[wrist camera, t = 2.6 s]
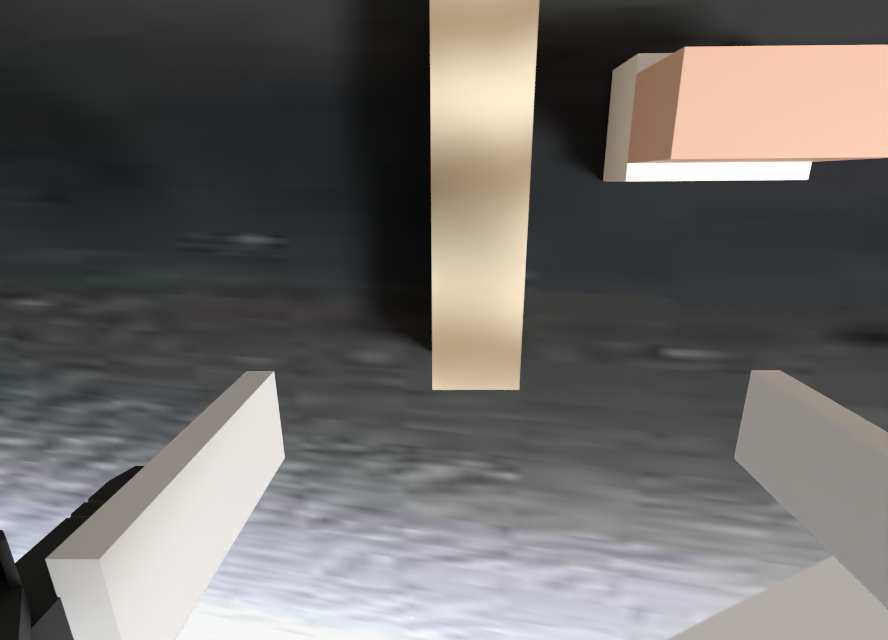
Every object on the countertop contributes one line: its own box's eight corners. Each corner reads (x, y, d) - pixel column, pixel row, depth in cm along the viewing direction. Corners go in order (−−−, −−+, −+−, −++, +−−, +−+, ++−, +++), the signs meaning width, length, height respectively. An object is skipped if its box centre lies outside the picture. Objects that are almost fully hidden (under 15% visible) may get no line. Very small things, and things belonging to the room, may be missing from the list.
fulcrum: (603, 181, 23) (668, 181, 16) (612, 70, 22) (688, 20, 15) (762, 179, 23) (893, 179, 16) (783, 68, 22) (936, 18, 15)
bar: (505, 351, 26) (519, 389, 21) (434, 351, 26) (432, 389, 21) (520, -21, 21) (543, -82, 16) (432, -21, 21) (429, -82, 16)
